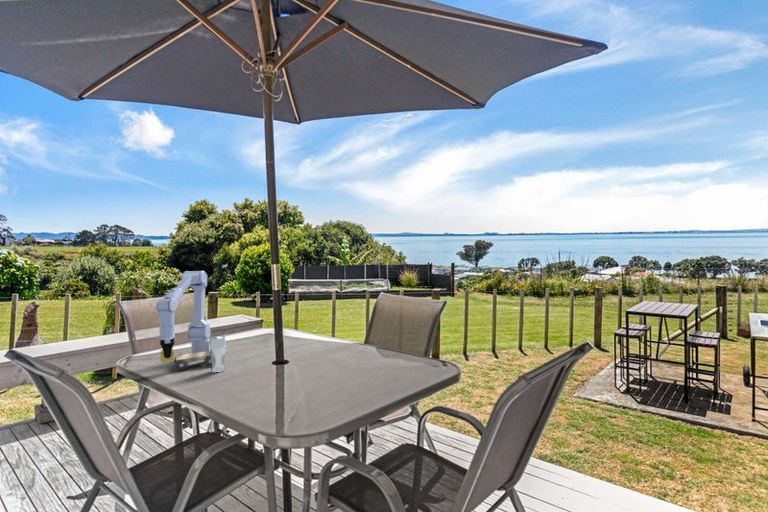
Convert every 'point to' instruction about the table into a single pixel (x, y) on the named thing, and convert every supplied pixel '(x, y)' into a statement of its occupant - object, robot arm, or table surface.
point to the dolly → (191, 359)
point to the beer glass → (217, 353)
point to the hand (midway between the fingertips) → (167, 356)
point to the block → (167, 358)
